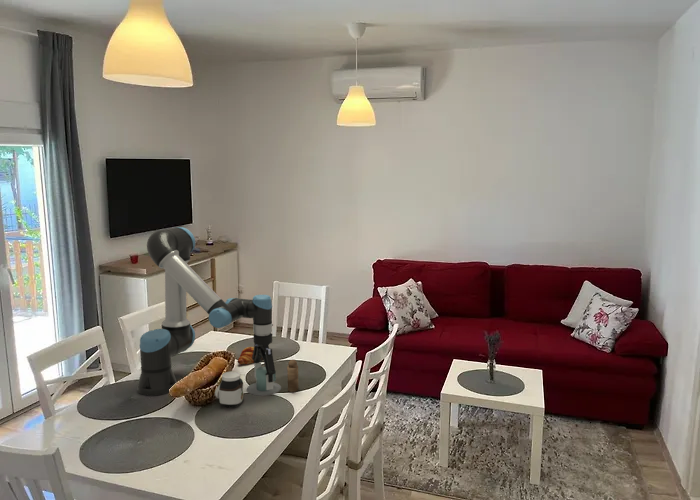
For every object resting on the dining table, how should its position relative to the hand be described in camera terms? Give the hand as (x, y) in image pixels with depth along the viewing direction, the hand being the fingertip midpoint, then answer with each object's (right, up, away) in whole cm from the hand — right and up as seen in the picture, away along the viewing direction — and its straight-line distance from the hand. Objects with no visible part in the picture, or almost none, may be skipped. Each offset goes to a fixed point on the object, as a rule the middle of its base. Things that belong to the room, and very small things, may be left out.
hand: (263, 383), depth 222 cm
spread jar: (-12, -4, -13) cm, 18 cm away
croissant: (-10, +2, +34) cm, 36 cm away
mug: (0, -2, 0) cm, 2 cm away
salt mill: (+12, -2, -1) cm, 12 cm away
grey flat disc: (0, -2, 0) cm, 2 cm away
